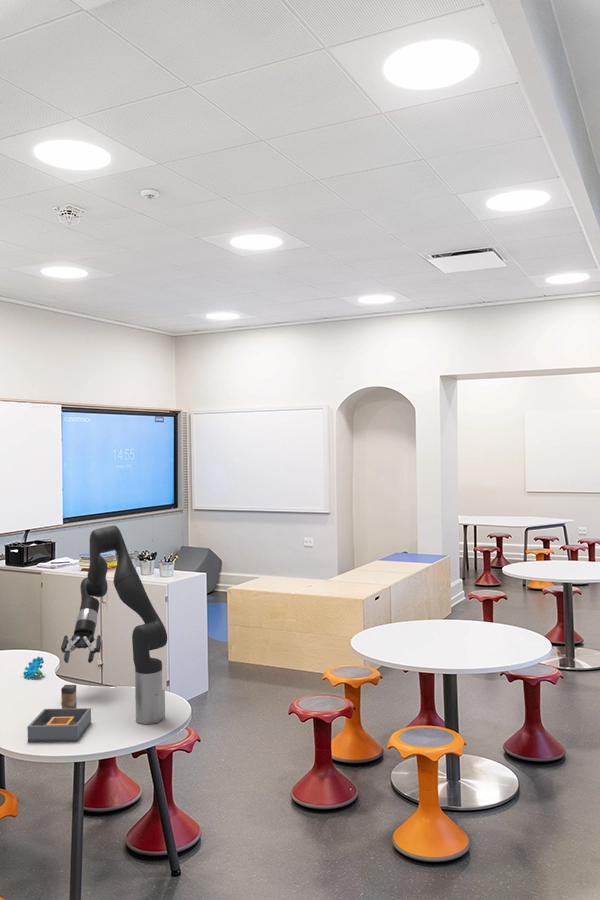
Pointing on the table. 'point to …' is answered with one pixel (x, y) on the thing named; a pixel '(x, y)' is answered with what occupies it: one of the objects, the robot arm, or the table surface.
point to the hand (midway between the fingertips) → (77, 661)
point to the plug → (68, 696)
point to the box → (59, 725)
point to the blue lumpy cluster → (34, 668)
